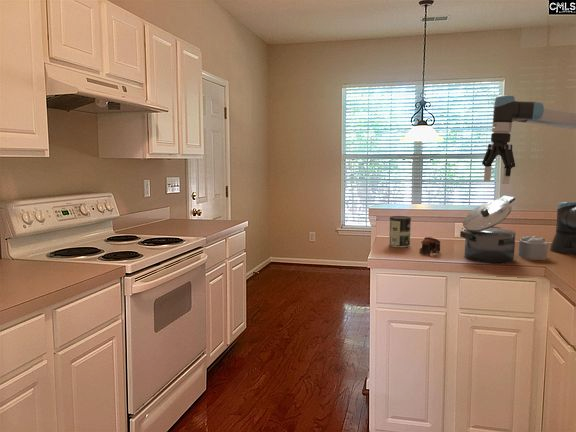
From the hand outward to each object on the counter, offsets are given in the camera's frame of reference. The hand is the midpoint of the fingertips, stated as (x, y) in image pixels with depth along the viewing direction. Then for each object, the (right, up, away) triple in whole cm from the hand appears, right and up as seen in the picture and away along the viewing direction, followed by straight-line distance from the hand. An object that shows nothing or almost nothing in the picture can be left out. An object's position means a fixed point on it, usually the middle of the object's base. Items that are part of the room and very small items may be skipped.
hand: (495, 182), depth 208 cm
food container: (+9, -30, +21) cm, 38 cm away
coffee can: (-35, -29, +30) cm, 54 cm away
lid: (-3, -14, 0) cm, 14 cm away
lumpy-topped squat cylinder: (+19, -33, +6) cm, 38 cm away
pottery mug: (-24, -32, +13) cm, 42 cm away
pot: (-3, -33, +2) cm, 33 cm away
